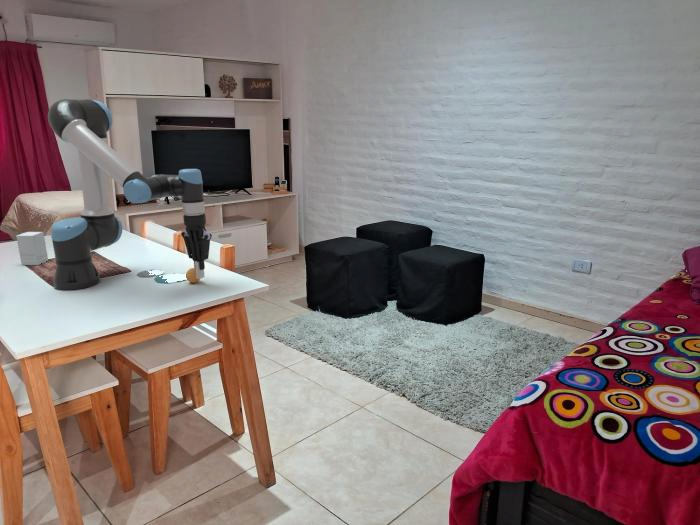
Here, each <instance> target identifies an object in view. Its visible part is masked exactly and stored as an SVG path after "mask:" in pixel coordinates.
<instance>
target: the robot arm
mask: <svg viewBox="0 0 700 525" xmlns="http://www.w3.org/2000/svg"><path fill="white" fill-rule="evenodd" d="M47 121H48V125H49V126H50V128H51V130H52V131H53V132H54V134H55V135H56V136H57V137H58V138H59V139H61V140H62V141H63V142H64V143H65V144H71V145H72V146H73V147H75V148H76V149H77V155H78V163H79V172H80V183H81V190H82V200H83V210H82V211H81V212H80V214H79V215H80V217H70V218H64V219H61V220H59V221H56V222H55V223H53V224H52V225H51V227H50V229H51V231H50V232H51V235H50V236H51V237H50V238H51V240H52V246H53V253H54V259H55V265H56V266H55V271H54V274H53V275H54V276H53V287H54V289H57V290H62V291H72V290H81V289H86V288H90V287H93V286H96V285H98V284H100V282H101V277H100V276H101V275H100V274H99V272H98V270H97V268H96V266H95V264H94V262H93V259H92V251H95V250H100V249H101V248H107V247H109V246H112V245H114V244H115V243H117V242H119V240H120V239H121V237H122V234H123V224H122V222H121V220H119V219H120V218H118V217H117V216H116V215H115V211H114V210H113V209H112V208H111V207H110V202H109V201H110V200H109V191H108V180H107V179H108V178H107V176H109V177H110V178H111V179H112V180H113V181H114V182H116V184H118V185H119V186H120V187H121V188H122V191H123V195H124V196H125V199H126V200H127V201H128V202H130V203H132V204H142V203H143V204H144V203H147V202H151V201H153V200H159V199H163V198H166V197H168V198H169V197H180V198H181V206H182V207H181V208H182V209H181V210H182V214H184V215H183V216H182V218H183V225H184V226H185V230H184V231H182V232H180V235H181V237H182V238H183V241H184V245H185V249H186V252H187V257H188V258H189V259H190V260H192V261H193V268H195V270H196V279H200V280H202V279H203V278H205V267H206V266H205V261H206V260H207V259H209V255H210V246H211V240H212V237H213V234H212V233H208V232H207V229H206V224H207V218H206V217H207V216H206V214H205V212H206V210H205V199H204V188H203V184H204V182H203V178H202V172H201V170H200V169H198V168H183V169H180V170H179V171H178V174H163V173H159V174H153V175H151V177H146V176H144V174H142V173H141V172H140V171H139V170H137V169H136V168H135V167H134V166H133V165H132V164H130V162H128V160H126V159H125V158H124V157H123V156H121V155H120V154H119V153H118V152H116V151H115V150H114V149H113V148H112V147H111V146H109V145H108V144H107V143H106V140H107V139H108V134H107V132H109V131H110V129H111V128H112V126H113V116H112V114H111V111H110V109H109V108H108V107H107V106H106V105H105V104H104V103H103V102H101V101H100V100H99V101H98V100H94V99H89V98H88V99H87V98H86V99H74V98H73V99H70V98H69V99H68V98H64V99H59V100H57V101H55V102H54V103H52V104H51V106H50V108H49V109H48V114H47Z"/></svg>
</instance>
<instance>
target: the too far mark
mask: <svg viewBox="0 0 700 525" xmlns="http://www.w3.org/2000/svg"><path fill="white" fill-rule="evenodd" d="M150 270H151V271H152V270H153V269H150ZM149 274H150V273H149V272H148V271H146V270H141V271H139V272H137V273H136V276H137V277H138V276H139V278H154V277H153V276H156V275H155V274H154V275H149ZM151 274H152V273H151ZM156 277H157V276H156Z"/></svg>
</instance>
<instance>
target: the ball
mask: <svg viewBox="0 0 700 525" xmlns="http://www.w3.org/2000/svg"><path fill="white" fill-rule="evenodd" d="M186 278H187V280H186V281H188V282H189V283H191V284H197V283H198V282H200V280H201V279H196V270H195V268H194V267H191V268H189V269H188V270H187V271H186Z"/></svg>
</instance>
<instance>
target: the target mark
mask: <svg viewBox="0 0 700 525" xmlns="http://www.w3.org/2000/svg"><path fill="white" fill-rule="evenodd" d="M162 278H163V276H161V277H159V276H158V277H157V276H156V277H154V280H155V281H156V283H158V282H160V283H159V284H169V283H168V282H167V281H166V280H167V279H162ZM154 280H153V281H154ZM155 281H154V282H155ZM165 281H166V282H165Z"/></svg>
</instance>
